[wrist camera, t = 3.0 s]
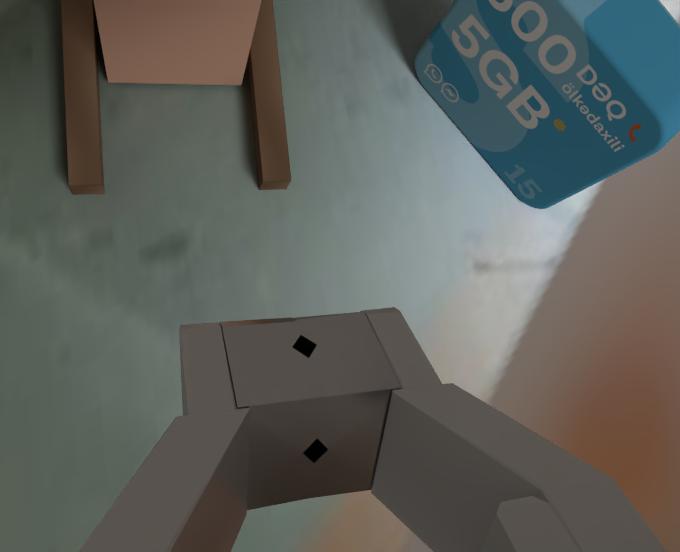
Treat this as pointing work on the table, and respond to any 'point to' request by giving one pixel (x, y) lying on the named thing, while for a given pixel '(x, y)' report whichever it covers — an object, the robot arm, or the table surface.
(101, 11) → the block
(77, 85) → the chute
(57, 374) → the table surface
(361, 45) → the table surface
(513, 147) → the data package
